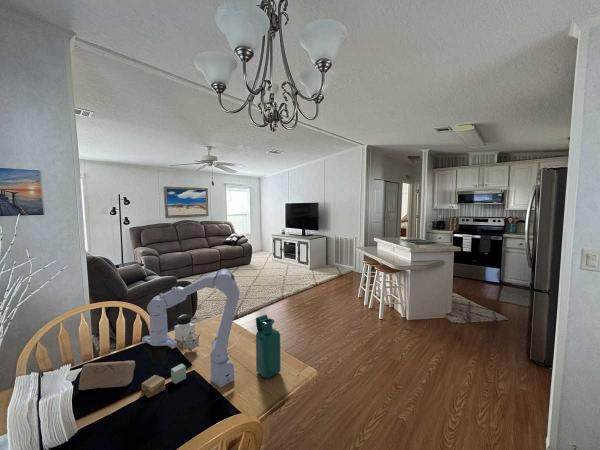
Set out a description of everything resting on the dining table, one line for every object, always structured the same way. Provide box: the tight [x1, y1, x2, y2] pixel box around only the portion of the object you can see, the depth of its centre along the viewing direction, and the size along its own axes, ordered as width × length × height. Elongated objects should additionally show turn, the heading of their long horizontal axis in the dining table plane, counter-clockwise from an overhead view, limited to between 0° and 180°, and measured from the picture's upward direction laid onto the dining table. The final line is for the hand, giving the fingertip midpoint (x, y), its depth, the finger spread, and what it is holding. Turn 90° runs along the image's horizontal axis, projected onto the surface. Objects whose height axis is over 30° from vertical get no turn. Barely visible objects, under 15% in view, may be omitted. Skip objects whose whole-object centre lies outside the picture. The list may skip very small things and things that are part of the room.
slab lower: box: [142, 384, 166, 399], centre depth 97 cm, size 6×6×2 cm
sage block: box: [170, 363, 187, 385], centre depth 103 cm, size 3×4×5 cm
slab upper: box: [141, 374, 166, 393], centre depth 97 cm, size 6×6×2 cm
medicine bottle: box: [174, 314, 196, 344], centre depth 135 cm, size 7×7×12 cm
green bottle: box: [255, 314, 282, 379], centre depth 108 cm, size 10×8×22 cm
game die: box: [180, 332, 201, 352], centre depth 122 cm, size 9×8×10 cm
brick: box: [78, 360, 136, 391], centre depth 99 cm, size 16×8×5 cm
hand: (160, 362), depth 98 cm, fingers open, 4 cm apart
